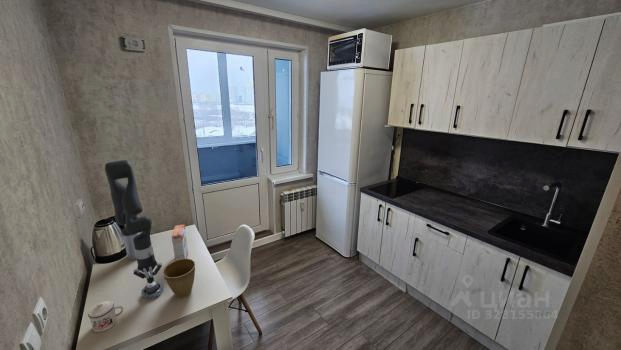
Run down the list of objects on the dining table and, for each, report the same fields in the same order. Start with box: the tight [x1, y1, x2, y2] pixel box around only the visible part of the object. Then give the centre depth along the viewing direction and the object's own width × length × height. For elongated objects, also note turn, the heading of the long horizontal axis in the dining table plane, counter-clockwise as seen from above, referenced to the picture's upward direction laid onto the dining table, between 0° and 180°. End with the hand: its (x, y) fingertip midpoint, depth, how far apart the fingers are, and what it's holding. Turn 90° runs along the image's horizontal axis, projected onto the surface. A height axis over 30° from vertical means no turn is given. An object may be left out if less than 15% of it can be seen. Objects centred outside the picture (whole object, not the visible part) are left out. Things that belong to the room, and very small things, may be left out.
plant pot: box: [162, 258, 196, 299], centre depth 132 cm, size 15×15×16 cm
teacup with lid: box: [87, 300, 124, 333], centre depth 114 cm, size 12×9×12 cm
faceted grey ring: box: [141, 281, 164, 300], centre depth 134 cm, size 10×10×3 cm
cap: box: [144, 280, 159, 294], centre depth 133 cm, size 6×6×5 cm
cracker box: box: [171, 224, 189, 261], centre depth 159 cm, size 14×6×21 cm, turn 19°
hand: (151, 282), depth 132 cm, fingers closed
